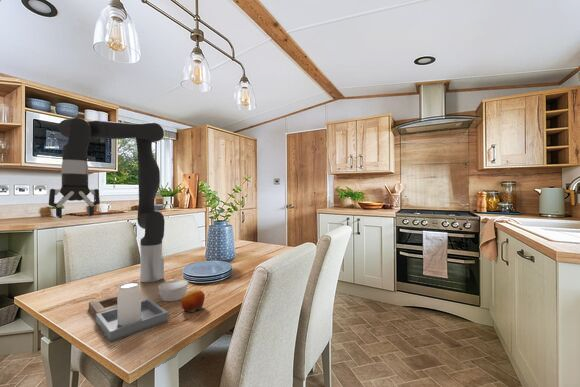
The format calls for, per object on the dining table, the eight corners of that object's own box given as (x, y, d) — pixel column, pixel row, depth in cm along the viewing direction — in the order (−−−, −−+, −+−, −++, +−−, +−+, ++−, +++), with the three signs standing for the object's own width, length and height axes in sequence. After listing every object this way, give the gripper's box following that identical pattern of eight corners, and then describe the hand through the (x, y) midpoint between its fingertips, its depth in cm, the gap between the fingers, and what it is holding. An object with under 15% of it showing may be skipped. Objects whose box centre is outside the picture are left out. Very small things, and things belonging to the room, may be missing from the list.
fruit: (194, 313, 87) (186, 290, 89) (181, 320, 91) (174, 298, 93) (213, 304, 94) (205, 283, 96) (200, 311, 97) (193, 290, 100)
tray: (148, 306, 95) (148, 298, 95) (167, 321, 85) (167, 312, 85) (96, 323, 83) (96, 313, 83) (110, 342, 73) (110, 331, 73)
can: (132, 327, 80) (132, 288, 80) (112, 326, 80) (112, 288, 80) (145, 317, 86) (145, 281, 86) (126, 316, 87) (126, 280, 86)
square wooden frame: (127, 298, 103) (127, 291, 103) (138, 307, 94) (138, 300, 94) (88, 308, 93) (88, 301, 93) (97, 320, 85) (97, 312, 85)
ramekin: (182, 289, 112) (182, 277, 112) (192, 297, 104) (192, 284, 104) (154, 296, 104) (154, 283, 104) (163, 305, 96) (163, 291, 96)
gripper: (96, 174, 102) (96, 215, 102) (47, 172, 92) (47, 217, 92) (101, 173, 97) (101, 216, 97) (50, 171, 87) (50, 219, 87)
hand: (75, 217), depth 95 cm, fingers open, 8 cm apart
